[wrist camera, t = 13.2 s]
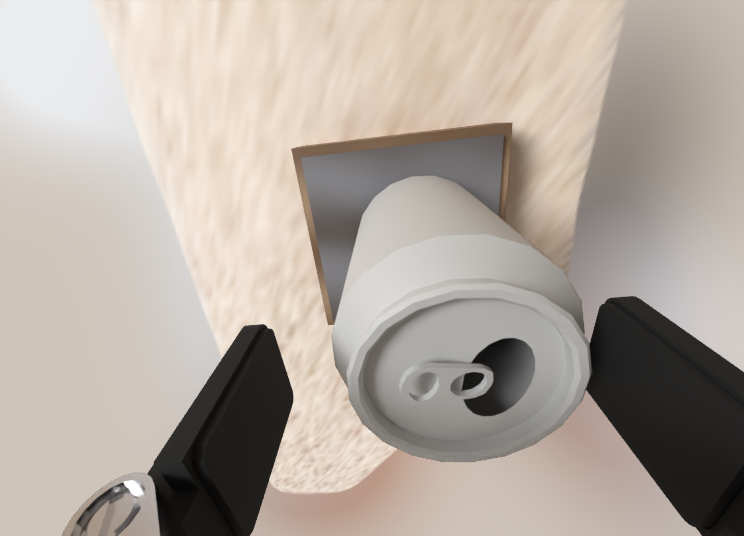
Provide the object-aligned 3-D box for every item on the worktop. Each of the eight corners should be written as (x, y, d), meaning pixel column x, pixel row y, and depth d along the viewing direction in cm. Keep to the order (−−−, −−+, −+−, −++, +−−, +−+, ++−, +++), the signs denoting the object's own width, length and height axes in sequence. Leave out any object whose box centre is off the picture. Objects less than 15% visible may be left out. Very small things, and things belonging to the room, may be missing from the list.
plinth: (303, 145, 20) (289, 149, 17) (493, 122, 19) (514, 122, 16) (334, 303, 25) (327, 327, 22) (484, 291, 24) (498, 315, 21)
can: (465, 295, 20) (557, 495, 9) (353, 282, 20) (316, 469, 9) (497, 181, 17) (696, 284, 6) (364, 165, 17) (326, 240, 6)
